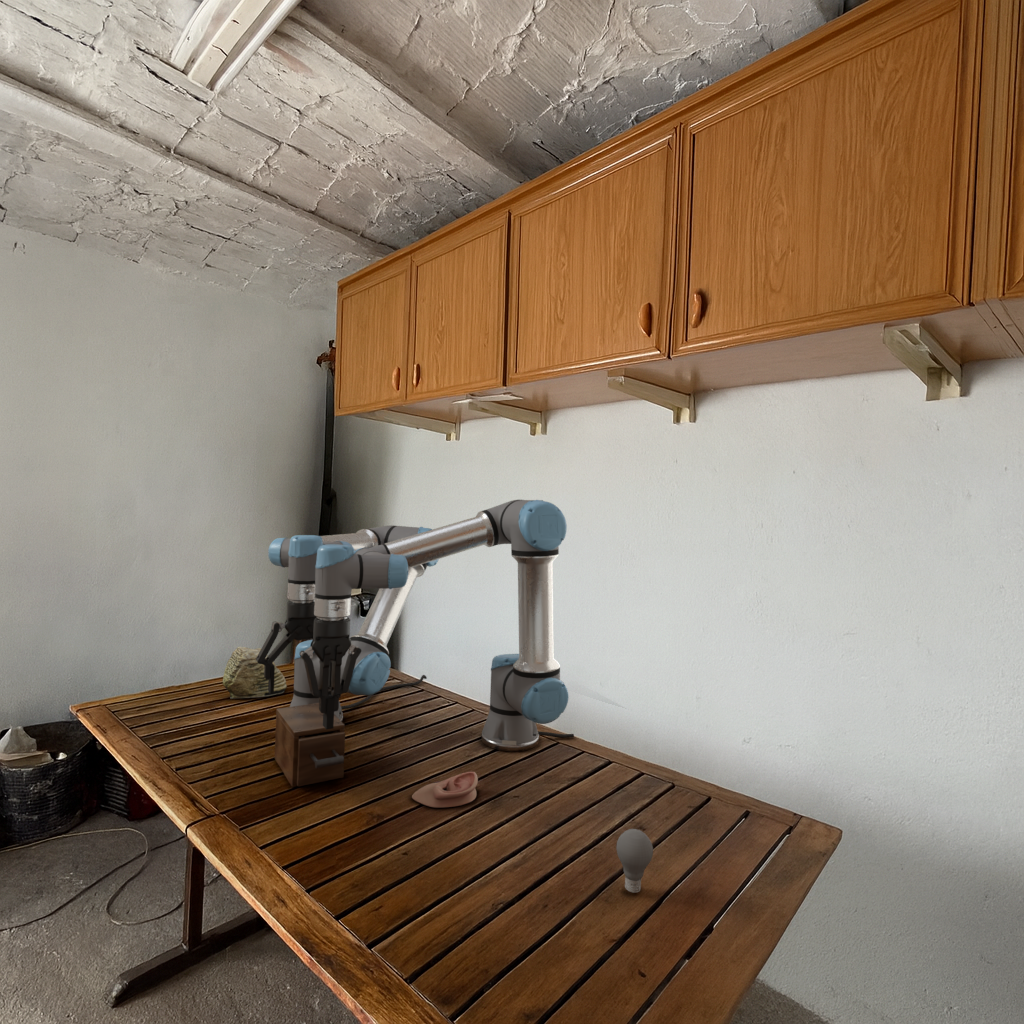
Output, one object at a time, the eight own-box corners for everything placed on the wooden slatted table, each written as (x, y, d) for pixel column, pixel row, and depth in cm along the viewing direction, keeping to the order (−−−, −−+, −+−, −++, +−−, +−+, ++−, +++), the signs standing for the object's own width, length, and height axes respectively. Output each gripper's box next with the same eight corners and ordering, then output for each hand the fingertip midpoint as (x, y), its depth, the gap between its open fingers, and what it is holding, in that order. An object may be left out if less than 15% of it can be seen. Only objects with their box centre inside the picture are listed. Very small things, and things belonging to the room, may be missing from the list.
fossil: (218, 695, 195) (220, 647, 195) (278, 685, 208) (279, 640, 207) (228, 703, 189) (230, 653, 188) (289, 692, 201) (290, 645, 201)
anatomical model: (407, 784, 132) (425, 763, 143) (406, 803, 132) (424, 780, 143) (468, 793, 129) (482, 770, 140) (467, 812, 129) (481, 788, 141)
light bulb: (610, 879, 108) (613, 822, 108) (644, 879, 109) (647, 822, 109) (619, 902, 102) (622, 840, 102) (655, 901, 103) (658, 840, 103)
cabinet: (342, 777, 143) (344, 724, 143) (292, 787, 137) (294, 732, 137) (320, 750, 158) (322, 702, 158) (274, 758, 152) (276, 708, 152)
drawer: (352, 788, 136) (354, 742, 136) (305, 798, 131) (307, 750, 130) (323, 752, 154) (324, 711, 154) (280, 759, 149) (282, 717, 149)
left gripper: (250, 605, 141) (247, 700, 141) (360, 600, 154) (357, 687, 154) (245, 600, 147) (242, 690, 148) (351, 595, 160) (348, 678, 161)
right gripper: (305, 622, 128) (301, 737, 129) (367, 618, 135) (363, 727, 136) (296, 615, 135) (292, 725, 135) (356, 612, 142) (352, 716, 142)
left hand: (300, 689), depth 151 cm, fingers open, 13 cm apart
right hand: (328, 726), depth 135 cm, fingers closed
